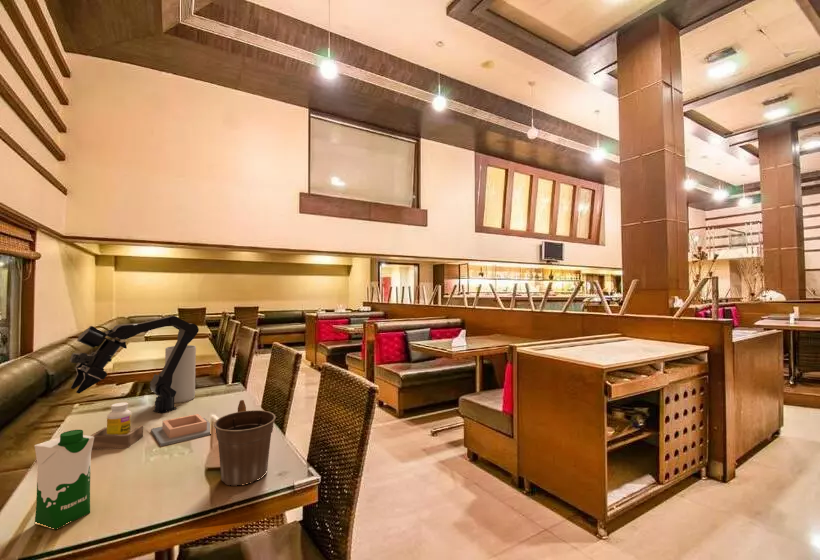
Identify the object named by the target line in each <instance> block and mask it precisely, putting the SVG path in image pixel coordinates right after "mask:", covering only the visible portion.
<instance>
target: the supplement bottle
mask: <svg viewBox="0 0 820 560" xmlns="http://www.w3.org/2000/svg"><path fill="white" fill-rule="evenodd" d="M128 407H129V403H128V402H126V401H125V402H115V403H112V404H111V405H110V409H111V411H110V412H109V413H108V414H107V415H106V416H107V417H106V427H107V435H125V434H128V433H129V432H131V431H132V429H131V428H132V427H131V424H132V423H131V422H132V421H131V420H132V411H131V410H130V409H128Z"/></svg>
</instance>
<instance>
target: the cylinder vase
mask: <svg viewBox="0 0 820 560" xmlns="http://www.w3.org/2000/svg"><path fill="white" fill-rule="evenodd" d="M174 346H175V345H172V346H167V347H165V348H164V349H165V350H164V351H165V355H164V365H165V364H166V362H167V360H168V358H169V356H170V354H171V352H172V350H173V348H174ZM196 353H197V347H196V345H192V344H191V345H190V344H188V345H187V347H186V349H185V351H184V353H183V355H182V357H181V359H180V361H179V363H178V365H177V367H176V369H175V371H174V373H173V378H172V384H171V388H172V389H173V390H175V391H176V395H175V397H174V404H180V402H181V403H185V402H189V401H191V400H194V398H195V396H196V367H197V366H196V363H197V362H196V359H197V358H196V357H197V354H196Z"/></svg>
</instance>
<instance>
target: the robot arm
mask: <svg viewBox="0 0 820 560" xmlns="http://www.w3.org/2000/svg"><path fill="white" fill-rule="evenodd" d="M169 326H172V327H173V328H175V329H177V330H178V333H177V340H176V343H174V344H175V345H173V346H174V348H173V350H172V352H171V354H170V356H169V358H168V360H167V362H166V364H165V363H164V366H163V368H162V370H161V371H160V372H159V373H158V374H156V373H154V375H153V377H152V379H151V381H150V382H149V384H150V386H149V388H150V391H152V393H154V394H155V396H156V397H155V401H154V409H152V412H154V413H163V414H164V413H167V412H171V411H174V410H177V409H178V407H176V406H175V403H174V397H175V395H176V391H175V390H173V389H172V388H171V384H172V378H173V373H174V371H175V369H176V367H177V365H178V363H179V361H180V359H181V357H182V355H183V353H184V351H185V349H186V347H187V345H190V343H191V342H192V341H193V340H194V339H195V337H196V336H197V335H198V333H199V331H200V330H199V327H198V325H197V324H195V323H193V322H192V323H190V322H187V321H186V320H183V319H181V318H179V317H177V316H176V315H172V314H171V315H168V316H165V317H160V318H156V319H152V320H148V321H142V322H138V323H137V322H135V323H122V324H117V325H115V326H114V325H113V328H112V329H109V330H106V331H102V330H100V329H99V328H96V327H95V326H93V325H89V326H88V328H86V329H85V330H84V331H83V332H81V333H80V335H79V336H78V338H77V339H76V340H77V342H79V343H81V344H83V345H85V346H88V347H90V348H92V349H93V348H95V347H98V348H97V350H96V351H93V352H91V353H90V354H88V353H86V352H80V353H76V352H75V353H74V352H72V353H71V356H70V357H69V358H70V359H69V362H70V363H73V364H76V365H75V371H76V375H75V378H74V380H73V382H72V384H71V387H70V389H72V390H75V389H76V388H77V390H76V392H75V393H76V394H81V393H83V392H84V391H86V390H87V389H89V388H91V387H93V386H94V385H96V384H98V383H99V382H101V381H102V380H105V378H107V377H108V373H107V371H106V370H105V367H106V366H107V364H108V363H111V362H112V360H113V359H112V358H113V357H114V356H115V354H116V353H117V352H118V350H119V349H120V348H123V349H127V344H126V343H127V341H125V340H128V339H129V338H133V337H135V336H137V335H139V334H141V333H144V332H149V331H152V330H156V329H157V330H158V329H160V328H164V327H169ZM109 338H111V339H109ZM120 340H123V341H120Z"/></svg>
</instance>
